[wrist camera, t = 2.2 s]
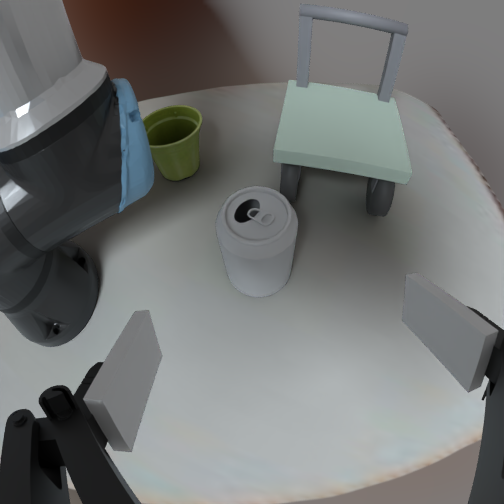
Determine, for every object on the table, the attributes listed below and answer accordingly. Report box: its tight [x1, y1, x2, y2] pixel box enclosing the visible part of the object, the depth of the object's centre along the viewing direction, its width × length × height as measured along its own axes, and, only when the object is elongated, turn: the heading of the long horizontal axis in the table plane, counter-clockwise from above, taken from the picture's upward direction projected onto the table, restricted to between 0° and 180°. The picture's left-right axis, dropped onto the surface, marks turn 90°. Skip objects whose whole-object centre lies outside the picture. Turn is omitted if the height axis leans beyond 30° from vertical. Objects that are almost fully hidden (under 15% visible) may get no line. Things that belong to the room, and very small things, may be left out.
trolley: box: [273, 4, 412, 217], centre depth 34 cm, size 16×18×23 cm
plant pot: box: [142, 105, 202, 181], centre depth 42 cm, size 9×9×9 cm
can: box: [216, 186, 298, 297], centre depth 32 cm, size 8×8×12 cm
